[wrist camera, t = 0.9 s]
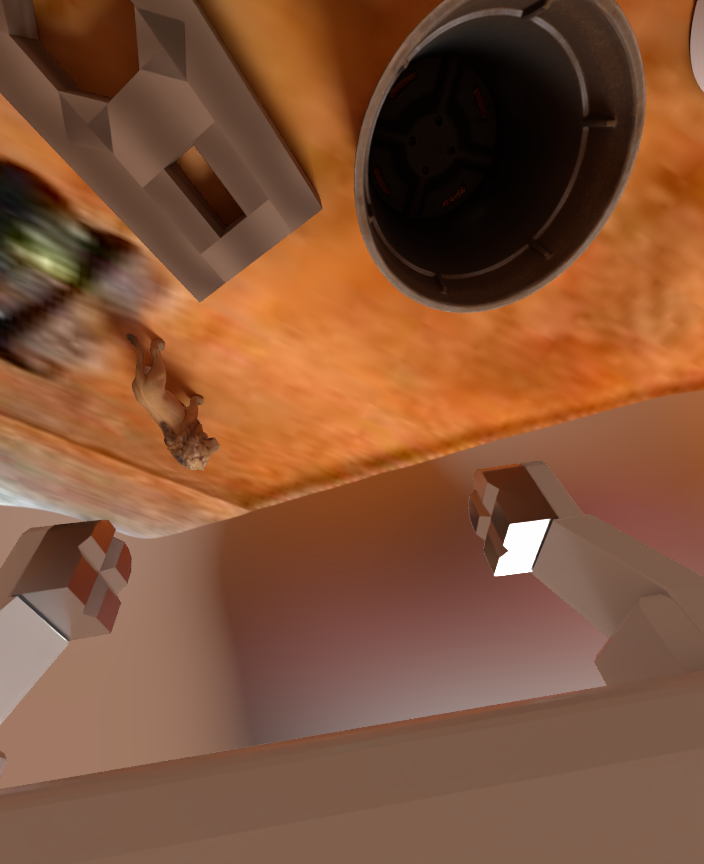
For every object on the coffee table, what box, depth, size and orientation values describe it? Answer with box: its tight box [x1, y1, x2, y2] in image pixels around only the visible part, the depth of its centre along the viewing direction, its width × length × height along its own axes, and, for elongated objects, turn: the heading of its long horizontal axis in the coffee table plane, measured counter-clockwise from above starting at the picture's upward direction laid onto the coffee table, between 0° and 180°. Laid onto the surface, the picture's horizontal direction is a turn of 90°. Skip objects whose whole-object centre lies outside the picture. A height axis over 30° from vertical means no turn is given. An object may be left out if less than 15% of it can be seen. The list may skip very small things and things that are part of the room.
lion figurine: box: [126, 334, 220, 470], centre depth 44 cm, size 15×5×9 cm, turn 25°
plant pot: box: [354, 0, 646, 313], centre depth 29 cm, size 16×16×16 cm
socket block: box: [0, 0, 322, 302], centre depth 30 cm, size 14×24×4 cm, turn 33°
